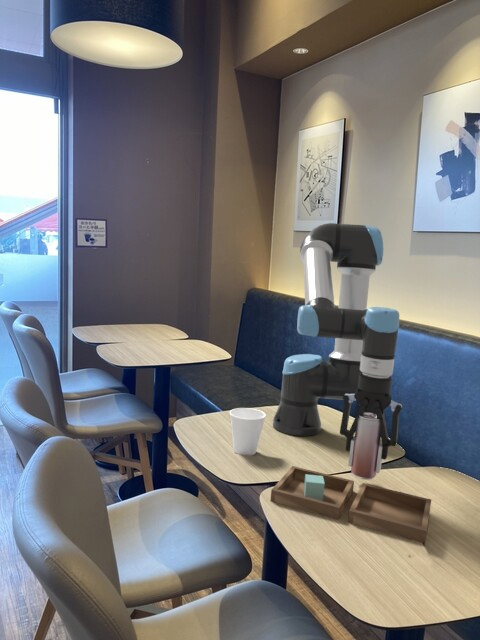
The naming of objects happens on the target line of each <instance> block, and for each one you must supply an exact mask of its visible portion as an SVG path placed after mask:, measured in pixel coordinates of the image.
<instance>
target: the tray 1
mask: <svg viewBox="0 0 480 640" xmlns="http://www.w3.org/2000/svg"><path fill="white" fill-rule="evenodd" d="M305 474H308V475H318V476H323V479H324V483H325V485H324V495H323V501H320V500H316V499H312V498H309V497H305V496H304V483H305ZM354 485H355V480H353V479H352V480H351V479H348V478H344V477H339V476H336V475H331V474H328V473H323V472H319V471H314V470H312V469H307V468H303V467H298V466H294V465H292V466H291V467H290V468H289V469H288V470H287V472H285V474H284V475H283V476H282V478H280V480H279V481H278V482H277V483H276V484H275V485H274V486H273V488H271V491H270V502H272V503H273V502H274V503H276V504H280V505H284V506H288V507H291V508H295V509H298V510H302V511H305V512H306V511H307V512H309V513H314V514H317V515H321V516H325V517H328V518H331V519H335V520H340V517H341V515H342V513H343V511H344V509H345V508H346V505H347V504H348V502H349V499H350V498H351V495H353V493H354V487H355V486H354Z"/></svg>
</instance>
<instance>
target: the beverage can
mask: <svg viewBox="0 0 480 640" xmlns="http://www.w3.org/2000/svg"><path fill="white" fill-rule="evenodd" d="M380 426H381V423H380V419H377V416H376V414H373V413H366V412H364V414H363V415H362V416H360V415H359V417H358V419H357V426H356V431H355V433H354V437H355V439H354V440H355V442H354V450H353V459H352V466H350V467H351V468H350V471H351V474H352V475H353V476H354V477H355V478H357V479H360V480H365V481H366V480H368V481H370V480H373V479H374V478H375V477H376V476H377V473H376V466H377V458H378V450H379V445H380V443H381V442H382V440H381V435H380Z"/></svg>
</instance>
